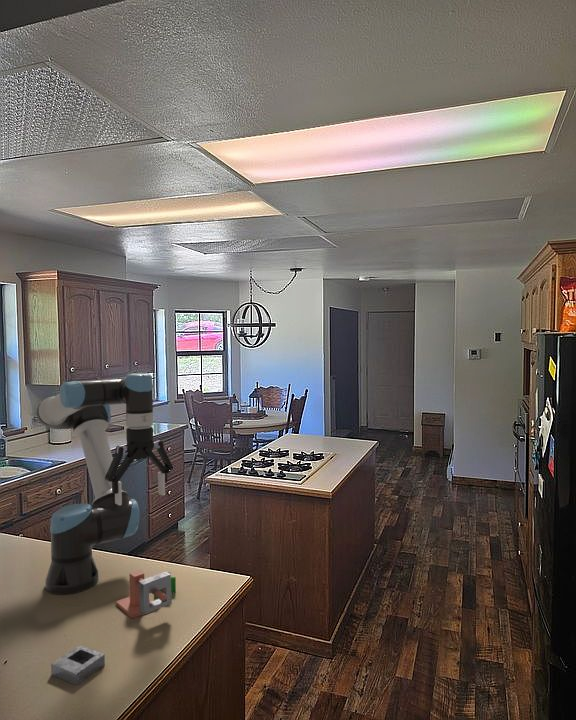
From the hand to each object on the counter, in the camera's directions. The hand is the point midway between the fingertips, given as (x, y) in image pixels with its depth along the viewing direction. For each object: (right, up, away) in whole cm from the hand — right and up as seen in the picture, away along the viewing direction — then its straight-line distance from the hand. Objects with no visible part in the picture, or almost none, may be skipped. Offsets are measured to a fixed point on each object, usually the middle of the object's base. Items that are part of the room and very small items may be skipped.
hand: (140, 499), depth 151 cm
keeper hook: (+4, -29, -9) cm, 31 cm away
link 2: (+8, -25, -13) cm, 29 cm away
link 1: (-5, -30, -33) cm, 45 cm away
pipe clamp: (+7, -29, +1) cm, 30 cm away
